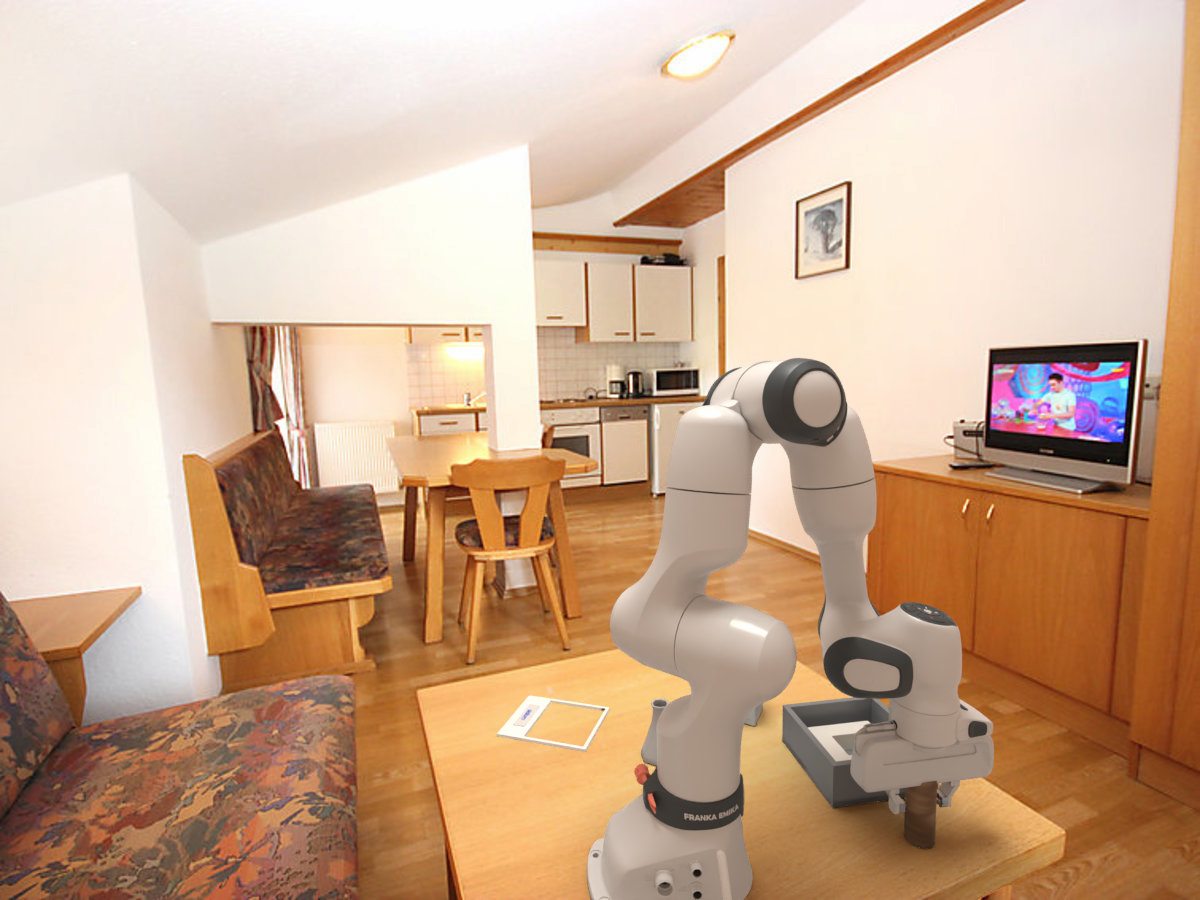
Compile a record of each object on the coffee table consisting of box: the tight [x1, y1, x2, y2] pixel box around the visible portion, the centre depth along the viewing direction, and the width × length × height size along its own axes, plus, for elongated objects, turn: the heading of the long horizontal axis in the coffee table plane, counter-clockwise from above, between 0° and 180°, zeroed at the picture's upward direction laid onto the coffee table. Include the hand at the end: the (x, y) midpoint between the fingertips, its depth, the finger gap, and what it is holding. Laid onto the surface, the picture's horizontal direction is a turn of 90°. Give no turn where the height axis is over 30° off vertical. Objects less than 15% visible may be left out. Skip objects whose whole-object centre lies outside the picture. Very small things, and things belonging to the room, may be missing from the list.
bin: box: [781, 696, 939, 809], centre depth 105 cm, size 18×18×7 cm
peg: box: [903, 781, 938, 850], centre depth 88 cm, size 4×4×10 cm
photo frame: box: [496, 695, 611, 753], centre depth 121 cm, size 15×1×18 cm
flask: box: [640, 697, 670, 767], centre depth 110 cm, size 7×7×10 cm
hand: (919, 807), depth 89 cm, fingers open, 6 cm apart
